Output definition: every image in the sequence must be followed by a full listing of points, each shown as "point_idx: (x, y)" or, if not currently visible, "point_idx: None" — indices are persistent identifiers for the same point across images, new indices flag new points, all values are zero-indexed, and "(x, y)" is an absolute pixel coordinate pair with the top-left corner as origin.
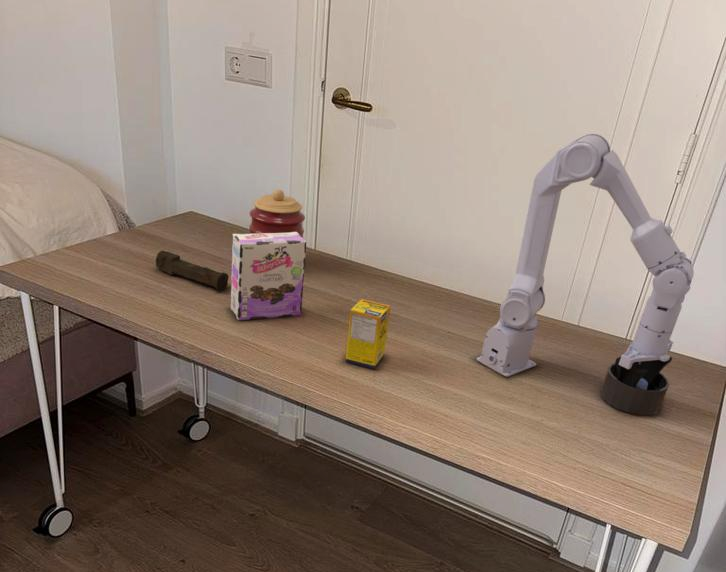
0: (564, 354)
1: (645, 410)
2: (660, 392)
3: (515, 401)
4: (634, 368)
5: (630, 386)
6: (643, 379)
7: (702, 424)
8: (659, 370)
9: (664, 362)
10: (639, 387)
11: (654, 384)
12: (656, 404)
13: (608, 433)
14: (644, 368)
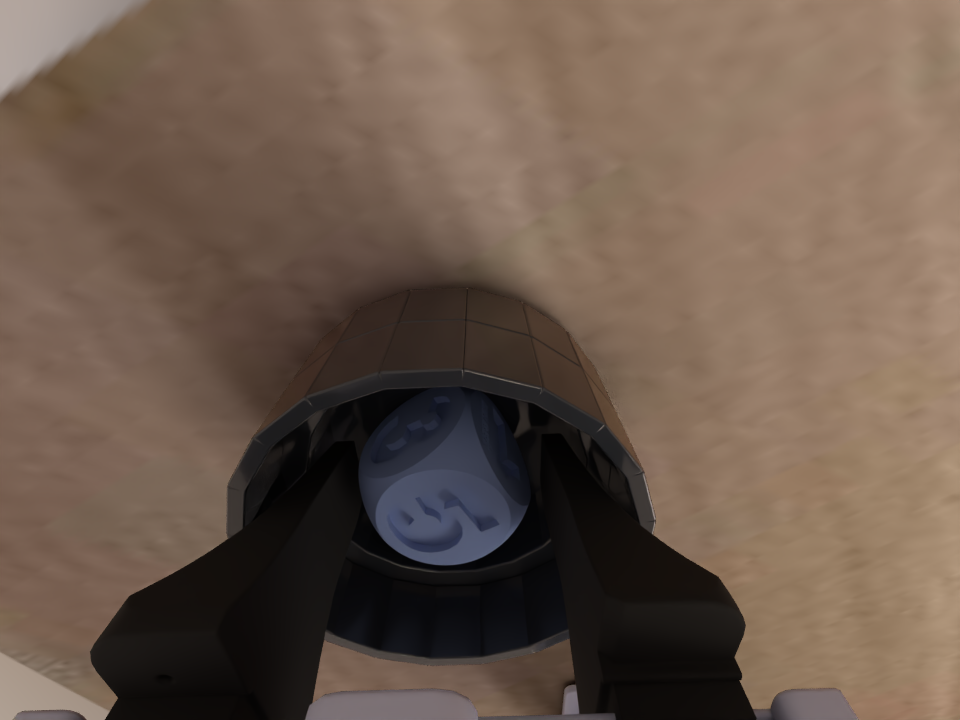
0: (388, 688)
1: (537, 321)
2: (482, 363)
3: (873, 598)
4: (708, 666)
5: (645, 503)
6: (385, 510)
7: (206, 27)
8: (271, 540)
9: (240, 616)
10: (493, 470)
11: (282, 451)
12: (474, 314)
13: (862, 301)
14: (323, 583)
